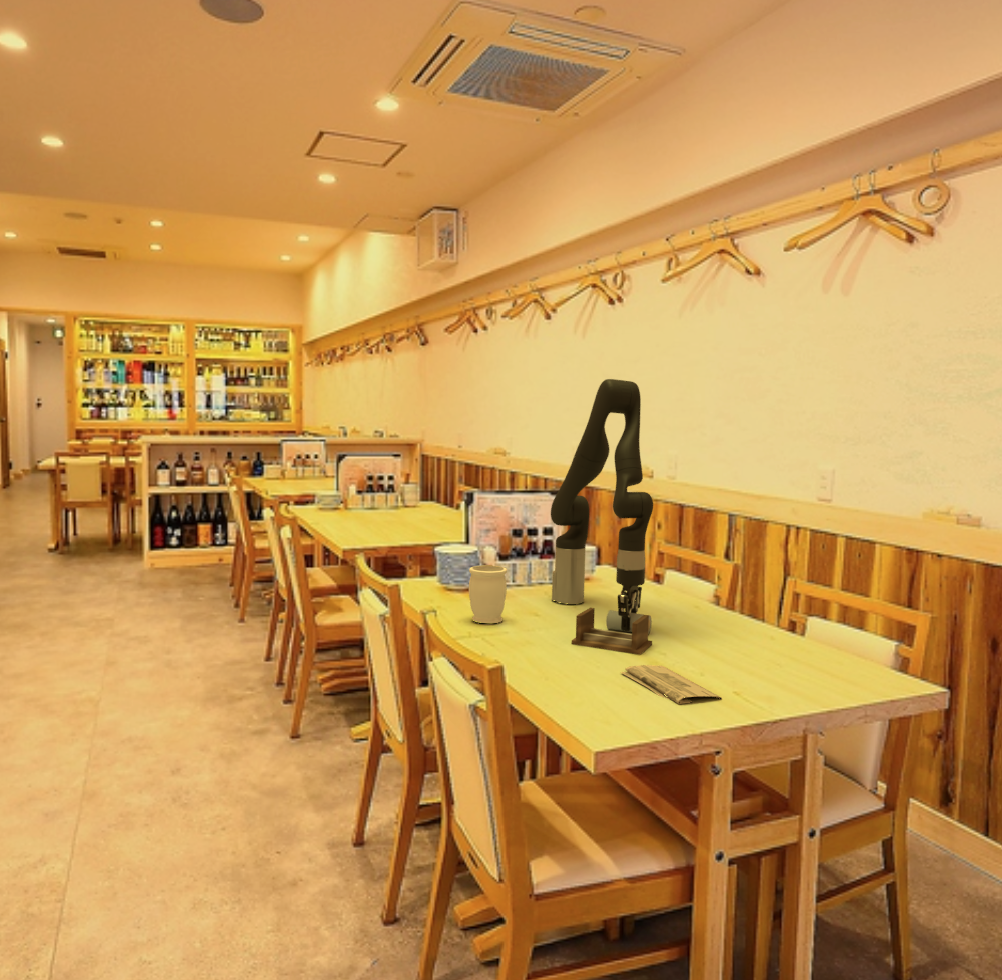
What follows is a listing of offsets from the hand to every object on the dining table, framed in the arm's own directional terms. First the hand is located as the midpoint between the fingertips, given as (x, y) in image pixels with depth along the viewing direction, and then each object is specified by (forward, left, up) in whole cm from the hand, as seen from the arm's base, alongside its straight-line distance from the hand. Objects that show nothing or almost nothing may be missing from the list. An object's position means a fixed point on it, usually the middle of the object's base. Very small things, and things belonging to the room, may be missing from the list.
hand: (628, 627), depth 215 cm
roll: (0, 0, -1) cm, 1 cm away
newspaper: (+21, -38, -2) cm, 44 cm away
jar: (-38, -10, -1) cm, 39 cm away
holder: (0, -14, -1) cm, 14 cm away
